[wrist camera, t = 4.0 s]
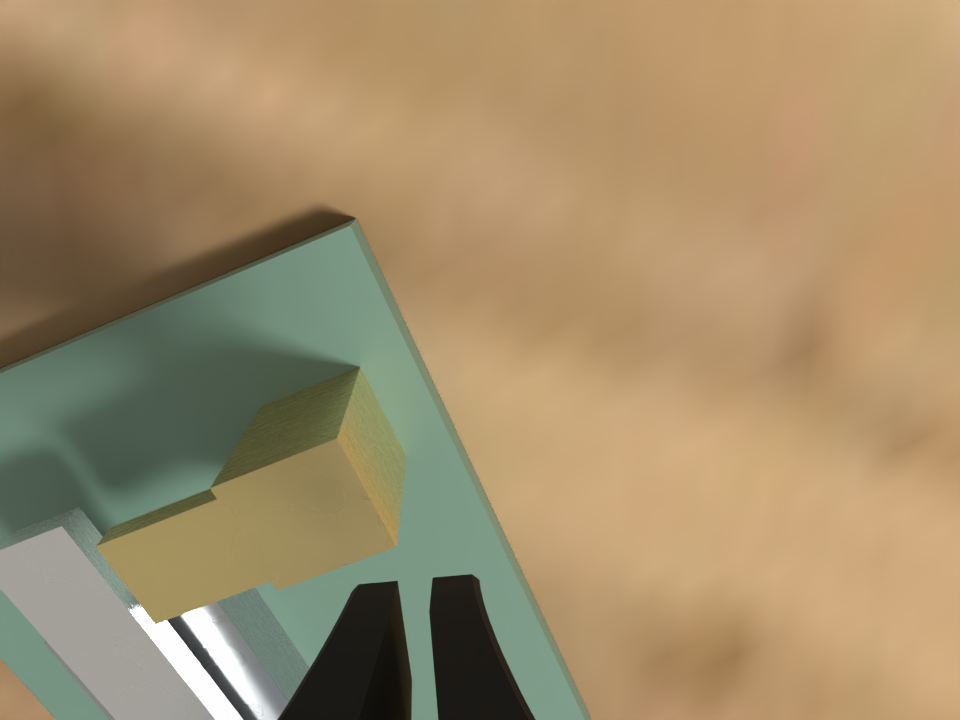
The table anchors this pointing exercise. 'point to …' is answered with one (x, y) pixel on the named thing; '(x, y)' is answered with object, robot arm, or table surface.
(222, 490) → the tan stepped block
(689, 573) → the table surface
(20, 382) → the board
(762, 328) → the table surface
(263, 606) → the brushed aluminum block
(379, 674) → the robot arm
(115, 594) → the silver long flat bar
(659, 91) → the table surface
